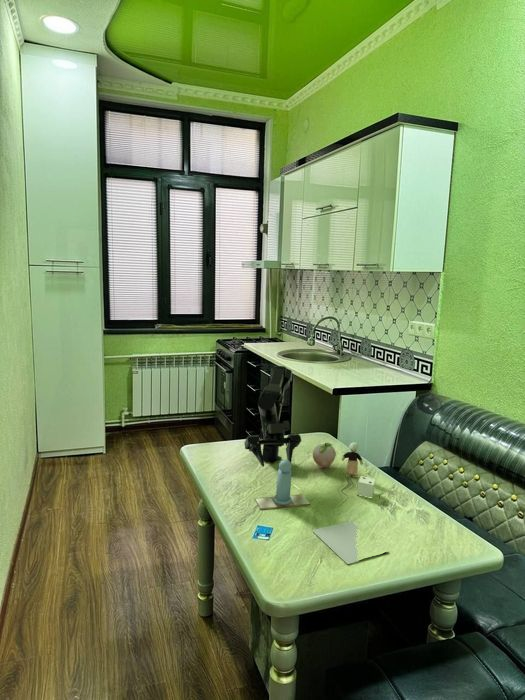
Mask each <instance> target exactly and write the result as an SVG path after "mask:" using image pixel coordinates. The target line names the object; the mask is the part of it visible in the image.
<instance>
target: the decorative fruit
mask: <svg viewBox="0 0 525 700" xmlns="http://www.w3.org/2000/svg"><path fill="white" fill-rule="evenodd" d="M336 457H337V452H336V450H335V448H334V446H333V444H332V443H330V442H325V443H322V444H318V445H317V446H315V447H314V449H313V451H312V458H313V461H314V462H315V464H316V465H317V466H319V467H321V468H323V469H325V468H328V467H330V466H331V465H332V464H333V462H334V461H335V460H336Z"/></svg>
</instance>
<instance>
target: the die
mask: <svg viewBox="0 0 525 700" xmlns="http://www.w3.org/2000/svg"><path fill="white" fill-rule="evenodd" d="M375 485H376V478H373V477H367V476H364V475H363V476H362V475H360V477H359V479H358V481H357V491H356V496H357V495H361V496H367V497H374V494H375ZM373 493H374V494H373Z"/></svg>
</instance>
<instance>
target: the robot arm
mask: <svg viewBox="0 0 525 700" xmlns="http://www.w3.org/2000/svg"><path fill="white" fill-rule="evenodd" d="M269 378H270V381H269V384H268V385H265V386H264V388H263V390H262V391H261V392H260V395H259V397H258V399H257V407H258V411H259V413H260V415H259V416H260V420H261V421H260V423H261V427H262V428H260V431H259V435H258V434H257V435H255V434H254V435H252V434H251V435H247V437H246V438H245V441H244V449H245V450H248V451H249V452H250V453H251V452H252V454H253V455H254V456H255V457H256V459H257V460H258V462H259V464H260V465H261V467H262V468H263V467H265V462H268V463H271V464H275V463H276V462H278V461H279V460H282V458H283V457H282V456H280V455H279V453H280V452H279V451H280V448H281V447H283V446H286V447H285V452H286V453H285V454H286V460H288V461H290V463H291V464H292V459H293V453H294V450H295V448H297V447H299V445H300V444H301V442H302V437H301V435H300V434H299V433H288V435H287V437H285V434H286V432H287V431H290V430H291V427H290V422H289V420H283V421H280V418H281V413H282V408H283V404H284V400H285V391H286V390H287V389H288V388H289V387H290V384H291V383H290V382H292V381H293V371H292V369H289V368H287V367H286V366H285V365H284V366H283V365H273V367H271V369H270V376H269ZM262 445H263V447H262Z"/></svg>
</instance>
